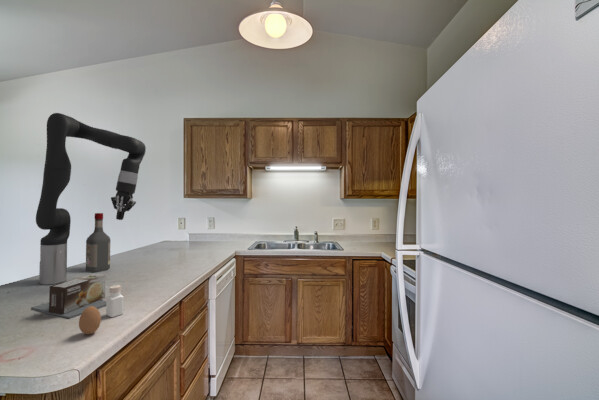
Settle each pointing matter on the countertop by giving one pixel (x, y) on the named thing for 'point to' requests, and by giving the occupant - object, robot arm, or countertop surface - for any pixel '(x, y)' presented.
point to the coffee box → (76, 293)
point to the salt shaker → (114, 302)
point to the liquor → (98, 248)
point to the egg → (89, 320)
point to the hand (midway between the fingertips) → (119, 219)
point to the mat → (70, 314)
